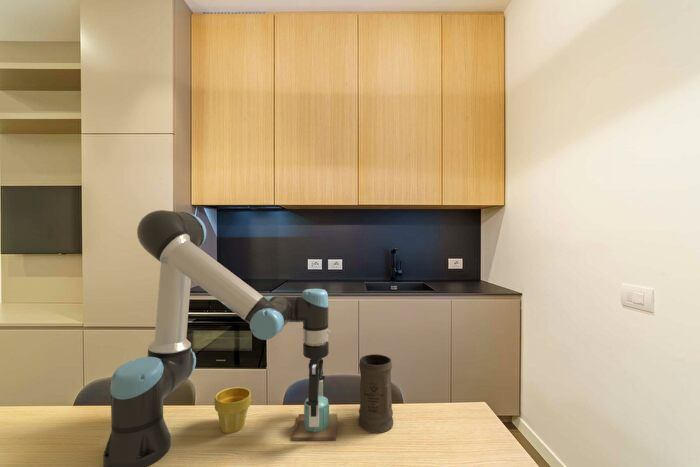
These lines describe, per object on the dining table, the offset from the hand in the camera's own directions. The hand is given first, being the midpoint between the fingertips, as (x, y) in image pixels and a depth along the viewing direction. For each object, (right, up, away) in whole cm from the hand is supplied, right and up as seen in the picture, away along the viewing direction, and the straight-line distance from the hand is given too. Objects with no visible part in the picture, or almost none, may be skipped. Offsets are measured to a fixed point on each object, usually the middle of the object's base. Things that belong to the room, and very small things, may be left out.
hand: (316, 413), depth 101 cm
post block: (0, -5, 0) cm, 5 cm away
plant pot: (-25, -5, +1) cm, 26 cm away
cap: (0, -4, 0) cm, 4 cm away
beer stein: (+18, -5, +5) cm, 19 cm away
